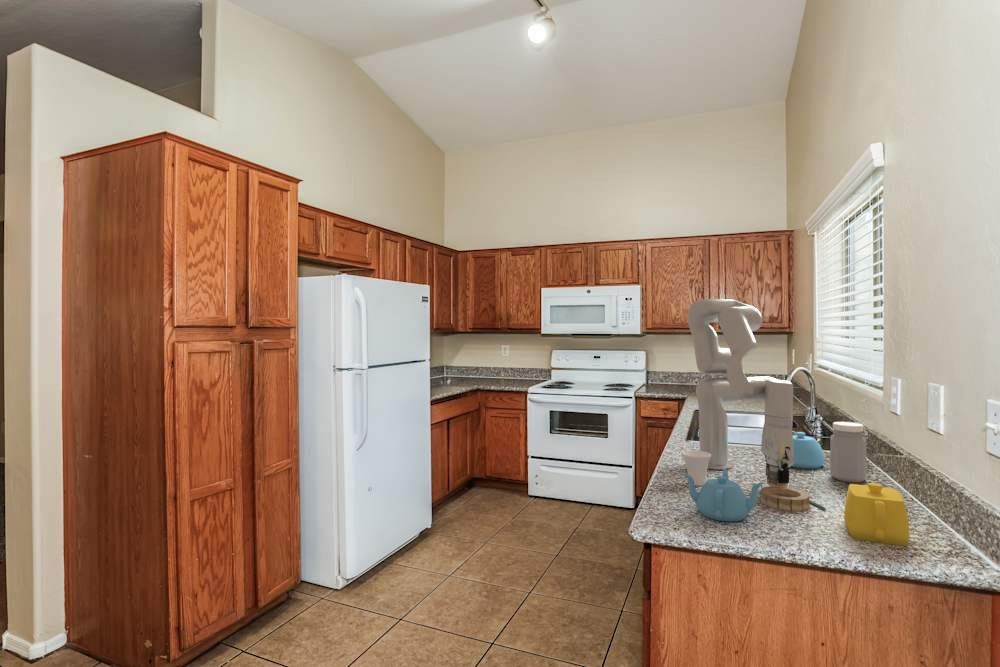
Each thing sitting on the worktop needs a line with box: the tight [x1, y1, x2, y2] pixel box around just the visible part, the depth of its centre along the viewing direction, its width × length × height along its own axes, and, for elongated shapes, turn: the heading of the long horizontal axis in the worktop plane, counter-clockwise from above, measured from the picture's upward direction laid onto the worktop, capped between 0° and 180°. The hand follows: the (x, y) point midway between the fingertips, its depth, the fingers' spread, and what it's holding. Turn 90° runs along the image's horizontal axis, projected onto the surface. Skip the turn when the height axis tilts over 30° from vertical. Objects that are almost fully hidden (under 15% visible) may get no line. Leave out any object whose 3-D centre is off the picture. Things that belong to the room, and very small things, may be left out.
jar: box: [829, 421, 868, 483], centre depth 170 cm, size 10×10×18 cm
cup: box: [681, 449, 711, 487], centre depth 166 cm, size 9×9×10 cm
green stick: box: [809, 499, 827, 511], centre depth 147 cm, size 13×1×1 cm, turn 2°
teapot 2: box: [843, 482, 910, 547], centre depth 126 cm, size 20×12×12 cm, turn 151°
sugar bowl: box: [791, 431, 826, 470], centre depth 189 cm, size 15×15×12 cm
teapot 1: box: [682, 469, 765, 523], centre depth 139 cm, size 15×15×10 cm
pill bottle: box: [766, 458, 789, 487], centre depth 159 cm, size 6×6×10 cm
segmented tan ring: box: [759, 485, 810, 512], centre depth 147 cm, size 12×12×3 cm
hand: (777, 479), depth 159 cm, fingers closed on pill bottle, 5 cm apart
